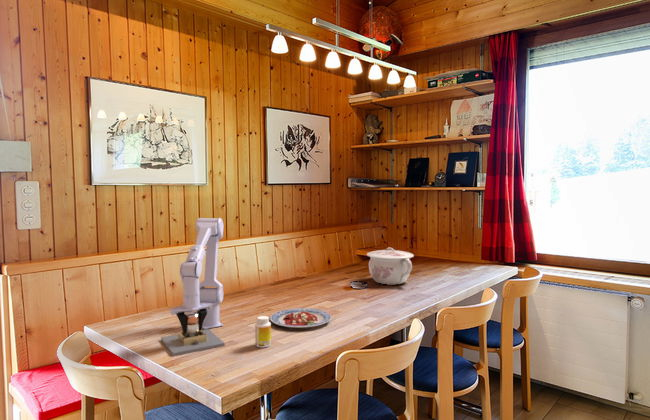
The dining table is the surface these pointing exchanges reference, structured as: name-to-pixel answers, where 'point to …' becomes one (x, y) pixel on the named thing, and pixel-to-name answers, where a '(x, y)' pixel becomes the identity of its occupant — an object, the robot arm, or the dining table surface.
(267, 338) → the supplement bottle
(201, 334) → the square hollow frame
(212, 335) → the socket base
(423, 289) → the dining table surface
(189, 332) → the silver tin
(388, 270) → the chamber pot
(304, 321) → the ceramic plate
